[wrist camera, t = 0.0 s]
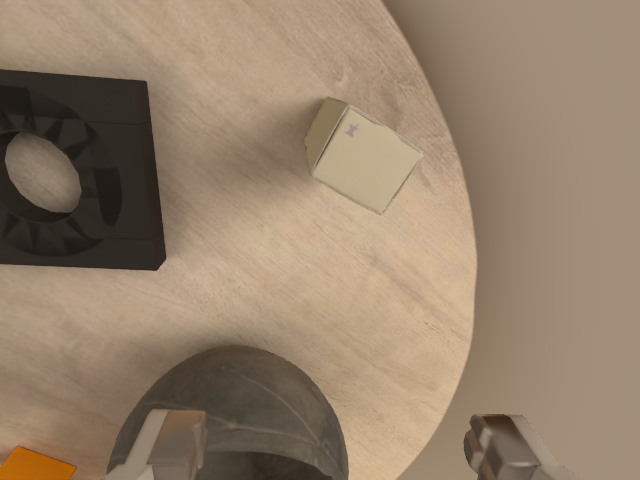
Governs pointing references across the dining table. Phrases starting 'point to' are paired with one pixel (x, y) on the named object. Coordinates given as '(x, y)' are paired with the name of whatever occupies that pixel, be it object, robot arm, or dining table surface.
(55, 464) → the orange juice
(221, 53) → the dining table surface
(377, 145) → the box
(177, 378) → the bowl
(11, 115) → the pad
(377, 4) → the dining table surface
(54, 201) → the dining table surface
